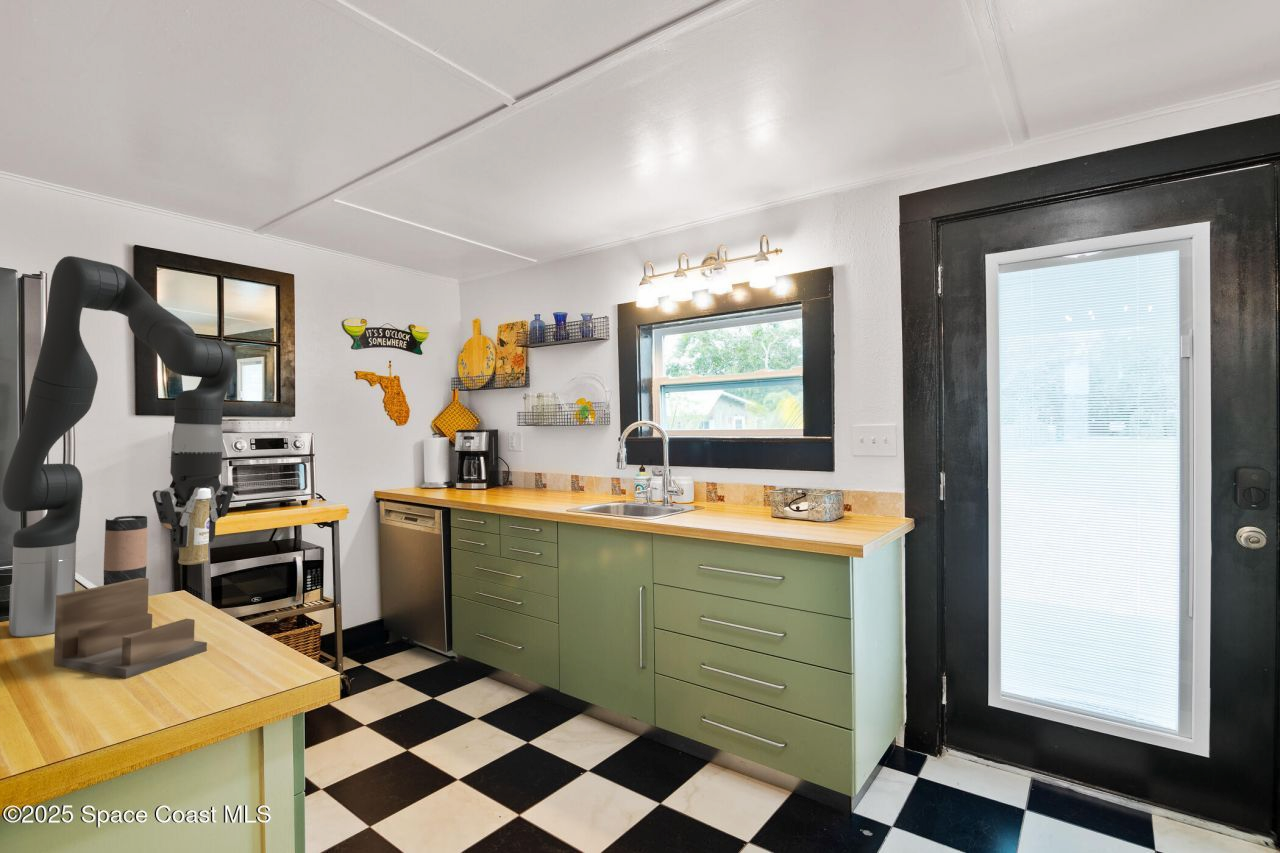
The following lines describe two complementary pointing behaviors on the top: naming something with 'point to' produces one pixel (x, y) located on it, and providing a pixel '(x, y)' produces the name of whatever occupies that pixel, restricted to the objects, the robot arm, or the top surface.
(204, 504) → the sprinkles bottle
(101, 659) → the wooden tiered slot stand
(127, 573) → the travel mug
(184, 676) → the top surface
